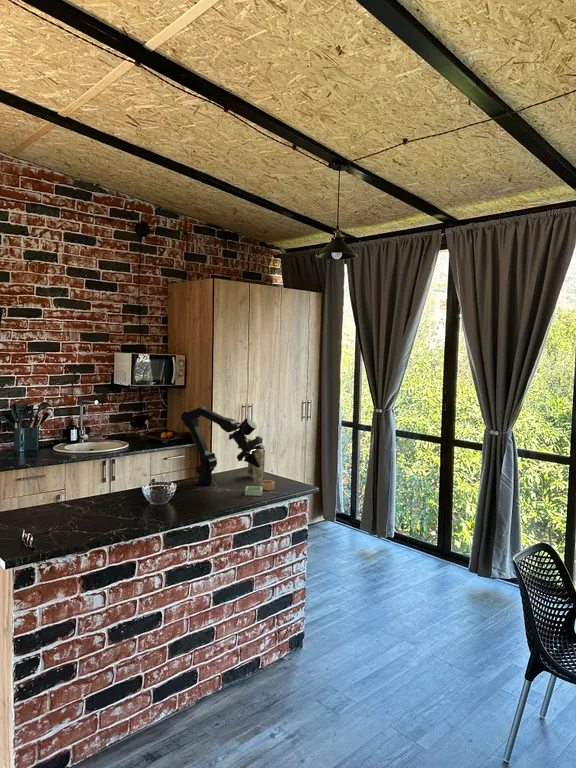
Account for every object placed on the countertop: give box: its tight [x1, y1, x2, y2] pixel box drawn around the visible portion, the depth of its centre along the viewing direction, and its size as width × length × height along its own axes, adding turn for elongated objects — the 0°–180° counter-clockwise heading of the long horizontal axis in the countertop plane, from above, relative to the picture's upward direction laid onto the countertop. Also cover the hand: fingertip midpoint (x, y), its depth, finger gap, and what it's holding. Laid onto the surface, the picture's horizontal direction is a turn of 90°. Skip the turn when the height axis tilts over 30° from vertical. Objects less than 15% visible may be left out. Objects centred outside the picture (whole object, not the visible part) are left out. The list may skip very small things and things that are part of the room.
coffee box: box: [247, 448, 266, 480], centre depth 291 cm, size 9×6×16 cm
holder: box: [258, 479, 276, 491], centre depth 269 cm, size 8×8×4 cm
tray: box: [244, 485, 263, 497], centre depth 260 cm, size 8×8×3 cm
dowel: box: [253, 449, 265, 484], centre depth 261 cm, size 4×4×16 cm
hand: (261, 466), depth 261 cm, fingers closed on dowel, 4 cm apart
